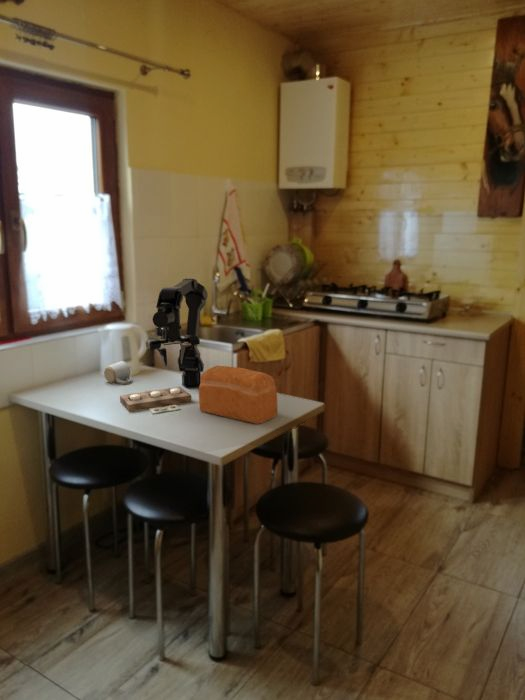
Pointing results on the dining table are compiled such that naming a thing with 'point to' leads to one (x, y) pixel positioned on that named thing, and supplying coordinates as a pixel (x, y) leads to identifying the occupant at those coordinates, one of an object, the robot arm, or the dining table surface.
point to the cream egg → (134, 397)
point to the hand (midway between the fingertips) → (173, 364)
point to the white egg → (175, 391)
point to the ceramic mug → (117, 373)
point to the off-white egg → (155, 394)
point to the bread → (238, 394)
